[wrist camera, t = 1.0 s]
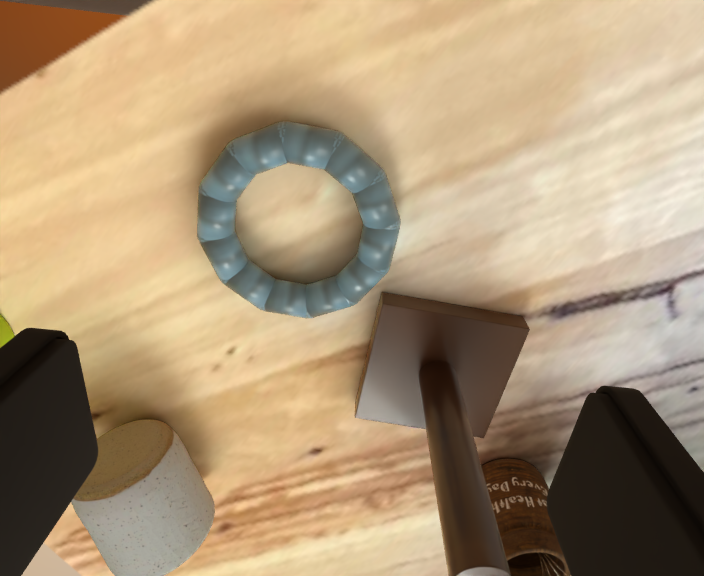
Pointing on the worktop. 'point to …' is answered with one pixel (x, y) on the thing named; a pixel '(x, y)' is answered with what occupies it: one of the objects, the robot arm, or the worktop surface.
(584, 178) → the worktop surface
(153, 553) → the ceramic mug
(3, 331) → the soap dispenser
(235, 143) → the ring
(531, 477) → the utensil holder
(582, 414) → the robot arm
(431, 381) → the peg stand
